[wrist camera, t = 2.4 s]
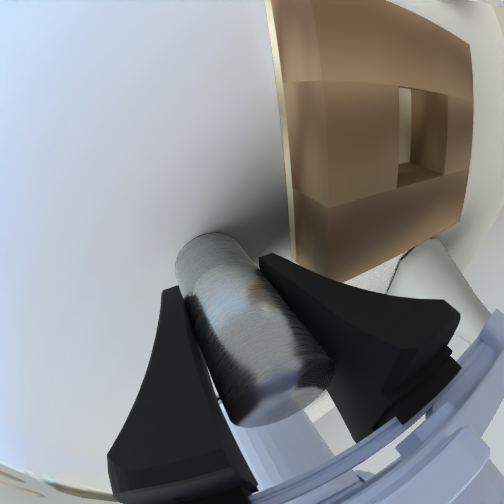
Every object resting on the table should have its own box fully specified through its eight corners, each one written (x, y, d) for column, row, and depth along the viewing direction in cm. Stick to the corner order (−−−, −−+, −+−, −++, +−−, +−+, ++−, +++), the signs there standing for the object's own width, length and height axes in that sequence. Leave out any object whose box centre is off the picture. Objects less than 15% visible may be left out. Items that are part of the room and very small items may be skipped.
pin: (248, 281, 13) (329, 395, 8) (185, 303, 13) (239, 437, 7) (238, 223, 12) (342, 338, 6) (166, 246, 11) (216, 395, 5)
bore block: (428, 204, 17) (459, 221, 15) (291, 256, 14) (325, 290, 11) (431, 41, 10) (469, 44, 8) (264, 1, 7) (306, -23, 5)
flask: (391, 253, 18) (499, 339, 10) (442, 225, 19) (530, 284, 11) (377, 321, 22) (453, 397, 14) (426, 287, 23) (495, 345, 16)
